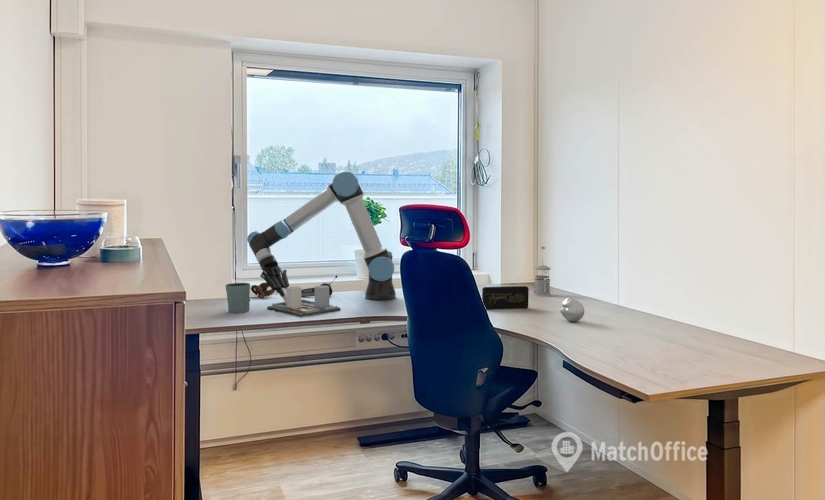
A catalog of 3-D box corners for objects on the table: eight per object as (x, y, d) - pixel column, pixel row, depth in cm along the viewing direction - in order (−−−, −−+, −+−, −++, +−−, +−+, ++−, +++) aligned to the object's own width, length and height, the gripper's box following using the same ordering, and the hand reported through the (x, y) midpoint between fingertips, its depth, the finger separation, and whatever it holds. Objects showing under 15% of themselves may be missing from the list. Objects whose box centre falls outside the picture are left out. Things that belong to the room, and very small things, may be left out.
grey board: (267, 309, 263) (267, 304, 263) (306, 303, 278) (306, 298, 278) (300, 317, 246) (300, 311, 246) (340, 310, 261) (340, 305, 261)
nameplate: (483, 310, 264) (483, 287, 263) (482, 309, 266) (482, 287, 265) (528, 308, 268) (528, 286, 267) (526, 307, 269) (527, 286, 269)
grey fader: (314, 307, 261) (314, 286, 261) (323, 305, 265) (323, 285, 264) (320, 308, 259) (320, 287, 258) (329, 306, 262) (329, 285, 262)
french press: (529, 295, 304) (530, 246, 302) (538, 292, 313) (539, 245, 311) (547, 297, 298) (548, 247, 296) (556, 294, 308) (557, 246, 306)
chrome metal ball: (558, 319, 244) (558, 294, 243) (581, 319, 243) (582, 295, 242) (561, 323, 235) (562, 298, 234) (586, 324, 234) (586, 299, 233)
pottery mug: (275, 296, 302) (277, 283, 298) (270, 307, 294) (272, 294, 290) (252, 290, 301) (254, 277, 297) (246, 301, 293) (248, 288, 289)
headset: (337, 276, 297) (297, 282, 293) (340, 295, 298) (299, 301, 294) (336, 273, 310) (297, 278, 307) (338, 291, 311) (299, 296, 308)
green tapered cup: (249, 313, 254) (248, 285, 253) (224, 314, 252) (223, 286, 251) (251, 309, 264) (251, 282, 263) (227, 309, 262) (227, 282, 261)
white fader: (286, 307, 259) (286, 286, 258) (296, 306, 263) (295, 285, 262) (291, 309, 256) (291, 287, 255) (301, 307, 260) (301, 286, 259)
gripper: (276, 264, 278) (297, 304, 268) (251, 267, 268) (272, 308, 258) (282, 254, 274) (304, 294, 263) (257, 256, 264) (278, 297, 254)
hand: (288, 301), depth 261 cm, fingers closed
